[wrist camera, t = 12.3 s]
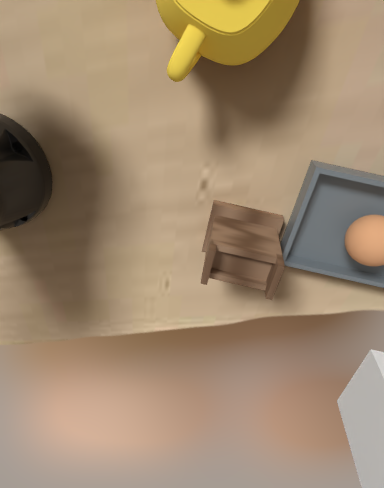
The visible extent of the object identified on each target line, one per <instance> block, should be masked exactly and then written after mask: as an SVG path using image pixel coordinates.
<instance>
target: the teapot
mask: <svg viewBox="0 0 384 488" xmlns="http://www.w3.org/2000/svg"><path fill="white" fill-rule="evenodd" d="M299 1H300V0H156V4H157V7H158V11H159V13H160V16H161V18H162V20H163V22H164V23H165V25H166V26H167V28H168V29H169V30H170V31H171V32H172V33H173V34H174V35H175V36H176V37H177V38H178V39H179V40H180V41H179V43H178V45H177V47H176V49H175V51H174V53H173V55H172V57H171V59H170V61H169V64H168V67H167V73H168V76H169V78H170V79H171V80H173V81H175V82H179V81H182V80H183V79H184V78H185V77H186V76H187V75H188V74H189V73H190V71H191V70H192V68H193V67H194V66H195V64H196V63H197V61H198V60H199V59H200V57H201V56H203V57H205V58H208V59H210V60H212V61H214V62H217V63H220V64H223V65H231V66H233V65H240V64H243V63H246V62H248V61H250V60H252V59H254V58H255V57H257V56H258V55H259V54H261V53H262V52H263V51H264V50H265V49H266V48H267V47H268V46H269V45H270V44H271V43H272V42H273V41H274V40H275V39H276V38H277V37H278V36H279V34H280V33H281V32H282V30H283V29H284V28H285V26H286V25H287V23H288V22H289V20H290V18H291V17H292V15H293V13H294V11H295V9H296V7H297V6H298V3H299Z"/></svg>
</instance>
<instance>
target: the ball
mask: <svg viewBox="0 0 384 488" xmlns="http://www.w3.org/2000/svg"><path fill="white" fill-rule="evenodd" d="M344 241H345V247H346V250H347V252H348V254H349V255H350V256H351V257H352V258H353V259H354V260H355V261H357V262H358V263H360V264H363V265H366V266H382V265H384V216H382V215H366V216H363V217H361V218H359V219H357V220H355V221H354V222H353V223H352V224H351V225H350V226H349V228H348V229H347V231H346V234H345V240H344Z"/></svg>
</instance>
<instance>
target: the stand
mask: <svg viewBox="0 0 384 488" xmlns="http://www.w3.org/2000/svg"><path fill="white" fill-rule="evenodd" d="M283 222H284V219H283V216H282V215H278V214H274V213H269V212H265V211H260V210H256V209H251V208H247V207H242V206H238V205H234V204H229V203H225V202H220V201H216V200H214V202H213V206H212V210H211V215H210V219H209V223H208V227H207V232H206V236H205V240H204V244H203V249H202V252H206V256H205V262H204V267H203V273H202V279H201V284H206V285H207V282H208V279H209V278H212V279H217V280H221V281H225V282H230V283H234V284H238V285H243V286H247V287H251V288H256V289H260V290H265V296H266V298H267V299H271V300H272V299H273V296H274V294H275V291H276V289H277V286H278V283H279V281H280V278H281V276H282V273H283V271H284V268H285V265H284V260H283V255H282V251H281V246H280V241H279V237H278V236H279V233H280V230H281V227H282V225H283Z"/></svg>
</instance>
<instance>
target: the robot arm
mask: <svg viewBox="0 0 384 488" xmlns="http://www.w3.org/2000/svg"><path fill="white" fill-rule="evenodd" d="M51 191H52V176H51V171H50V167H49V164H48V161H47V159H46V157H45V155H44V153H43V151H42V149H41V148H40V146H39V144H38V143H37V142H36V140H35V139H34V138H33V137H32V136H31V135H30V134H29V133H28V132H27V131H26V130H25V129H24V128H23V127H22V126H21V125H19V124H18V123H17V122H15V121H14V120H12V119H10V118H9V117H7V116H5V115H2V114H0V230H3V229H7V228H12V227H16V226H20V225H22V224H25V223H27V222H28V221H30V220H31V219H33V218H34V217H35V216H37V215H38V214H39V213H40V212H41V211H42V210H43V209H44V208H45V207H46V205H47V203H48V201H49V199H50V196H51ZM337 402H338V406H339V409H340V413H341V417H342V420H343V424H344V427H345V431H346V434H347V438H348V441H349V445H350V448H351V452H352V455H353V459H354V462H355V466H356V470H357V473H358V476H359V480H360V484H361V487H362V488H384V352H380V351H375V350H370V351H369V353H368V354H367V356H366V357H365V359H364V361H363V362H362V364H361V365H360V367H359V368H358V370H357V371H356V373H355V374H354V376H353V377H352V379H351V380H350V382H349V383H348V385H347V386H346V388H345V390H344V391H343V393H342V394H341V396H340V397H339V399H338V400H337Z"/></svg>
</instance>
